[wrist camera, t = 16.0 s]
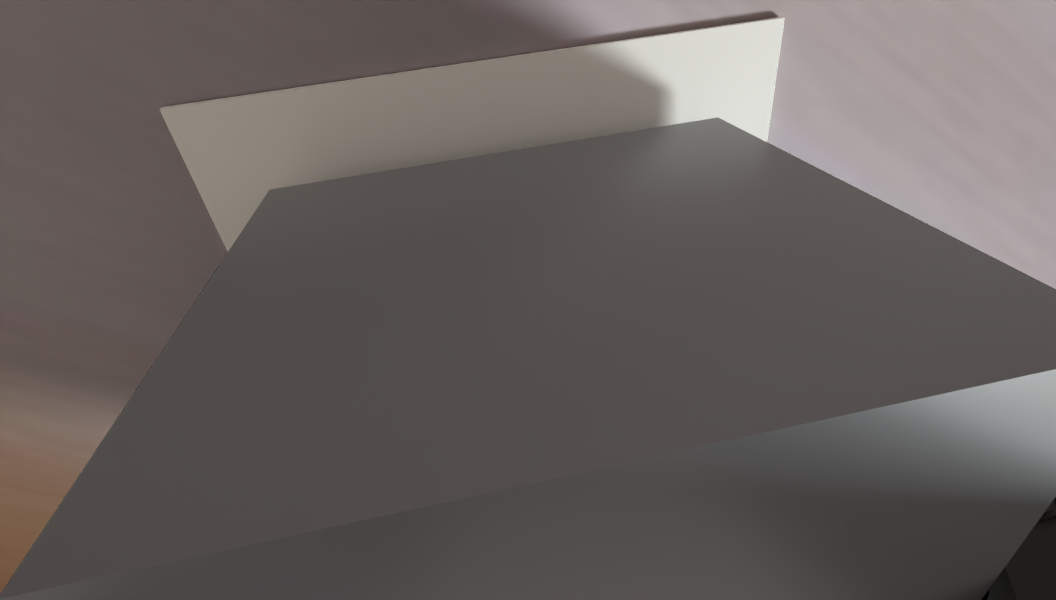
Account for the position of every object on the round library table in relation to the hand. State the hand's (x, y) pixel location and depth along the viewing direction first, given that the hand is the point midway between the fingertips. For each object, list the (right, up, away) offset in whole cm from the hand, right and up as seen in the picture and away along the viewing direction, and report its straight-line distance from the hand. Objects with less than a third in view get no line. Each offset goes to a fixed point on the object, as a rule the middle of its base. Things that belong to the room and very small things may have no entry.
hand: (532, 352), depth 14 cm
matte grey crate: (0, 0, +1) cm, 1 cm away
